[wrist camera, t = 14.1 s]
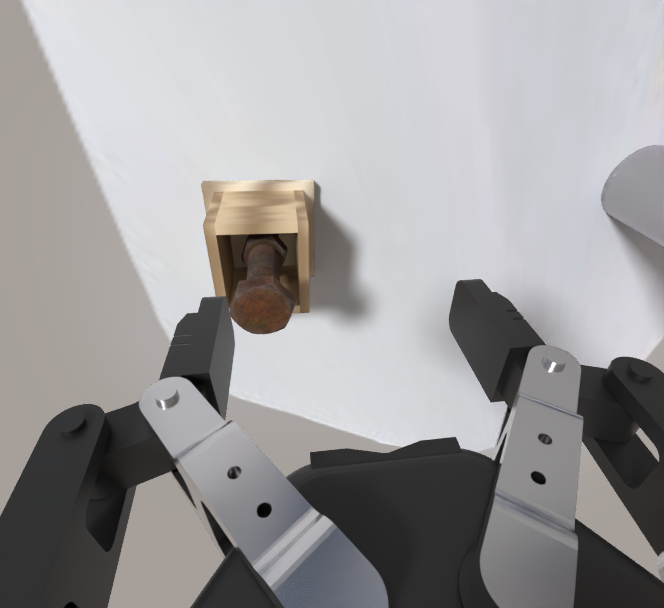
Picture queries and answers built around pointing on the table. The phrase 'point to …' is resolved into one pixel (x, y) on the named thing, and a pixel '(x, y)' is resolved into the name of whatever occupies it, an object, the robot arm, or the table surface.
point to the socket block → (260, 231)
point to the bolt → (262, 287)
